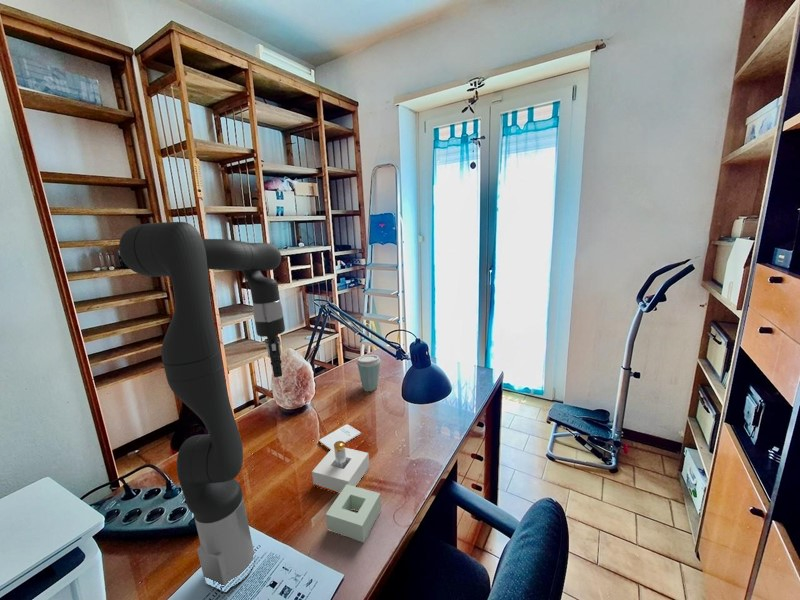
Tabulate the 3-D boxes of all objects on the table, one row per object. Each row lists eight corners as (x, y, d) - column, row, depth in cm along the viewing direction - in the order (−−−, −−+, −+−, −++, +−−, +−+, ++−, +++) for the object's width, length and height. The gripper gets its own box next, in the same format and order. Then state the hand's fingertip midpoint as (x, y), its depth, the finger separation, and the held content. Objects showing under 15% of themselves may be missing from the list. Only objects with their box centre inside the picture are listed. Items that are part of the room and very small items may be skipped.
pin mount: (363, 543, 80) (362, 525, 79) (327, 530, 83) (325, 514, 82) (381, 509, 89) (380, 493, 88) (348, 499, 92) (346, 484, 91)
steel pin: (344, 481, 99) (340, 448, 96) (335, 478, 100) (331, 446, 98) (349, 473, 102) (346, 442, 99) (341, 471, 103) (337, 440, 100)
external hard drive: (318, 444, 117) (347, 427, 126) (332, 454, 112) (361, 435, 120) (317, 439, 117) (346, 423, 125) (331, 449, 111) (360, 431, 120)
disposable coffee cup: (355, 386, 155) (352, 356, 151) (376, 380, 160) (374, 350, 156) (364, 396, 146) (361, 364, 142) (386, 389, 150) (384, 358, 147)
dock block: (350, 496, 93) (348, 481, 92) (313, 486, 98) (311, 471, 97) (369, 467, 104) (368, 453, 103) (336, 458, 109) (334, 445, 107)
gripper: (254, 312, 99) (262, 364, 103) (254, 325, 86) (264, 384, 90) (281, 308, 102) (288, 359, 105) (285, 320, 89) (293, 377, 93)
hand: (277, 370), depth 98 cm, fingers open, 8 cm apart
